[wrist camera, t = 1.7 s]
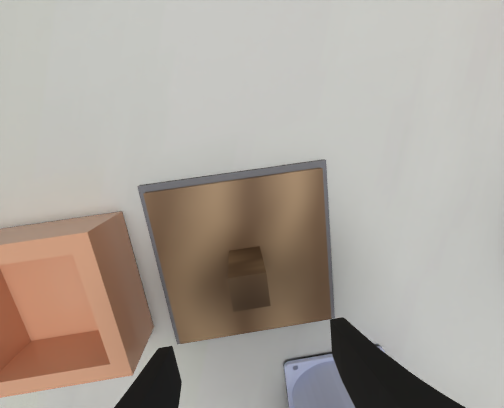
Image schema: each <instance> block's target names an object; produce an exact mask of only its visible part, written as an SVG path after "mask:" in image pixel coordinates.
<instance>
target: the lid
mask: <svg viewBox="0 0 504 408" xmlns="http://www.w3.org/2000/svg"><path fill="white" fill-rule="evenodd" d="M143 195H144V199H145V203H146V207H147V211H148V215H149V219H150V224H151V228H152V232H153V236H154V240H155V244H156V248H157V252H158V256H159V260H160V264H161V268H162V272H163V276H164V280H165V284H166V288H167V292H168V296H169V300H170V304H171V308H172V312H173V316H174V320H175V324H176V328H177V333H178V337H179V341H180V344H183V343H189V342H195V341H201V340H207V339H213V338H219V337H225V336H231V335H238V334H244V333H250V332H256V331H262V330H268V329H274V328H280V327H286V326H292V325H298V324H304V323H310V322H316V321H322V320H328V319H331V302H330V285H329V269H328V252H327V235H326V218H325V201H324V184H323V168H313V169H306V170H299V171H292V172H285V173H278V174H271V175H264V176H256V177H249V178H242V179H235V180H228V181H221V182H214V183H207V184H200V185H193V186H186V187H179V188H171V189H164V190H157V191H150V192H145V193H143Z"/></svg>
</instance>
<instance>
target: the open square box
mask: <svg viewBox="0 0 504 408" xmlns="http://www.w3.org/2000/svg"><path fill="white" fill-rule="evenodd" d="M153 328H154V326H153V322H152V319H151V315H150V312H149V308H148V304H147V301H146V297H145V293H144V290H143V286H142V282H141V279H140V275H139V271H138V268H137V264H136V261H135V257H134V253H133V250H132V246H131V242H130V239H129V235H128V231H127V228H126V224H125V221H124V217H123V213H122V211H121V212H114V213H107V214H100V215H93V216H86V217H79V218H72V219H65V220H58V221H51V222H44V223H37V224H30V225H23V226H16V227H10V228H3V229H0V398H1V397H7V396H13V395H19V394H25V393H30V392H36V391H42V390H48V389H54V388H60V387H66V386H72V385H78V384H84V383H90V382H95V381H101V380H107V379H113V378H119V377H125V376H131V375H133V374H134V371H135V369H136V367H137V364H138V362H139V360H140V358H141V355H142V353H143V351H144V348H145V346H146V344H147V342H148V339H149V337H150V335H151V333H152V330H153Z"/></svg>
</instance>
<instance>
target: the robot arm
mask: <svg viewBox="0 0 504 408" xmlns="http://www.w3.org/2000/svg"><path fill="white" fill-rule="evenodd" d="M330 325H331V341H332V354H327V355H321V356H316V357H310V358H304V359H298V360H292V361H288V362H286V363H285V364H284V371H285V379H286V387H287V395H288V403H289V408H465V407H464V406H462V405H460V404H458V403H457V402H455V401H453V400H452V399H450V398H448V397H447V396H445V395H443V394H442V393H440V392H439V391H437V390H436V389H434V388H433V387H431V386H430V385H428V384H426V383H425V382H423V381H422V380H420V379H419V378H418V377H416V376H415V375H413V374H412V373H411V372H409V371H408V370H406V369H405V368H404V367H402V366H401V365H400V364H398V363H397V362H396V361H394V360H393V359H392V358H391V357H389V356H388V355H387V354H386V353H384V350H383V348H382V347H381V346H376V345H375V344H373V343H372V342H371V341H370V340H369V339H367V338H366V337H365V336H364V335H363V334H362V333H361V332H359V331H358V330H357V329H356V328H355V327H354V326H353V325H352V324H350V323H349V322H348V321H347V320H346V319H345V318H337V319H331V320H330ZM181 383H182V382H181V378H180V374H179V370H178V366H177V362H176V358H175V355H174V351H173V347H172V346H169V347H163V348H158V350H157V351H156V352H155V354H154V355H153V356H152V358H151V359H150V360H149V362H148V363H147V365H146V366H145V367H144V369H143V370H142V371H141V373H140V374H139V376H138V377H137V378H136V380H135V381H134V382H133V384H132V385H131V386H130V388H129V389H128V390H127V392H126V393H125V394H124V396H123V397H122V398H121V400H120V401H119V402H118V403H117V405H116V406H115V407H114V408H178V406H179V399H180V391H181Z"/></svg>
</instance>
